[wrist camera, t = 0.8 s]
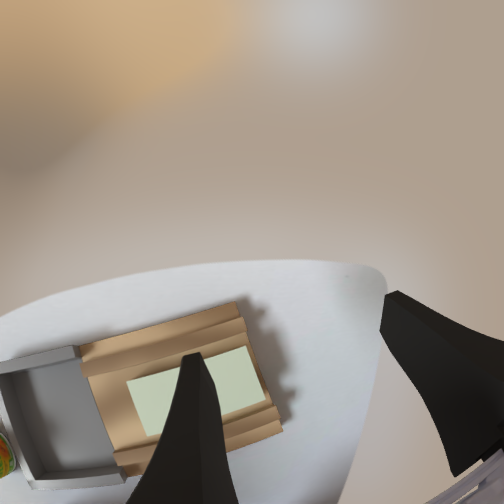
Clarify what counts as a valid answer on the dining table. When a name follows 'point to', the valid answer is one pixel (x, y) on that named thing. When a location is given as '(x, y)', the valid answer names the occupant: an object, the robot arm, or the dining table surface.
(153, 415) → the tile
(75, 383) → the box
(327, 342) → the dining table surface
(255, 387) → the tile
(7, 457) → the supplement bottle
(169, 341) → the board
